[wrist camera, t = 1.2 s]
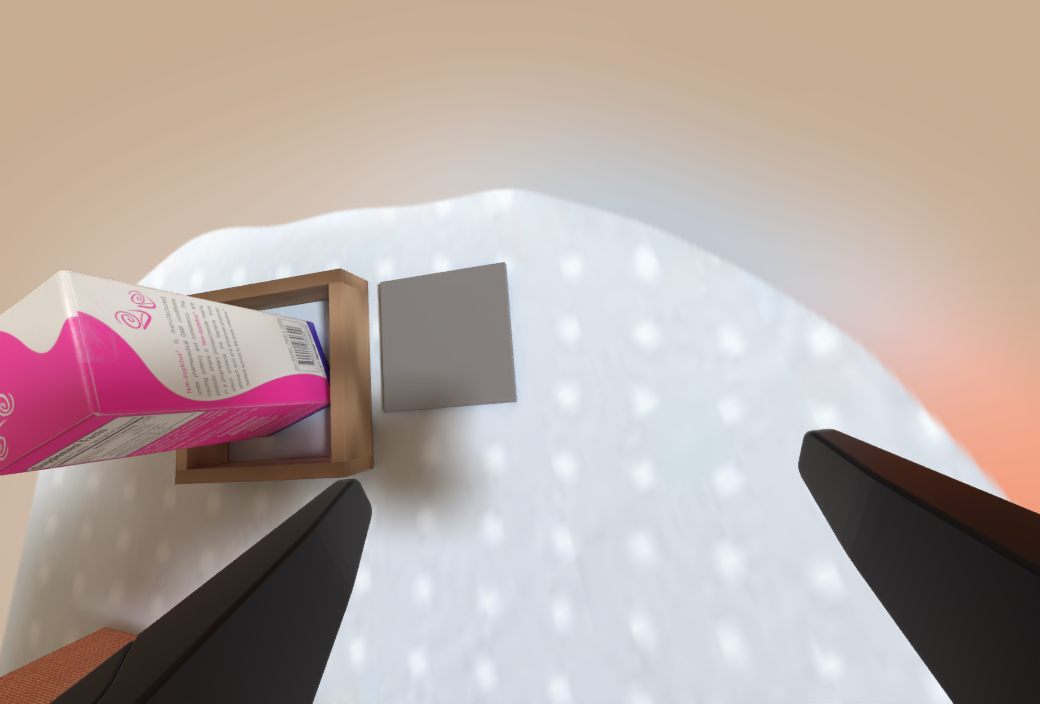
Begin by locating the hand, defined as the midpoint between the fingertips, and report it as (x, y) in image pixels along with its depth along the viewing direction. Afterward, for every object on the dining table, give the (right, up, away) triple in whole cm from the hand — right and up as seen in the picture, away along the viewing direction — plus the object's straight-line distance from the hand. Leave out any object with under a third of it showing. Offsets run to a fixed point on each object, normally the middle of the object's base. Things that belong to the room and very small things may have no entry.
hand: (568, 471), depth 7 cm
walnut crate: (-16, +1, +16) cm, 23 cm away
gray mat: (-5, +3, +14) cm, 16 cm away
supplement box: (-16, +1, +17) cm, 23 cm away
